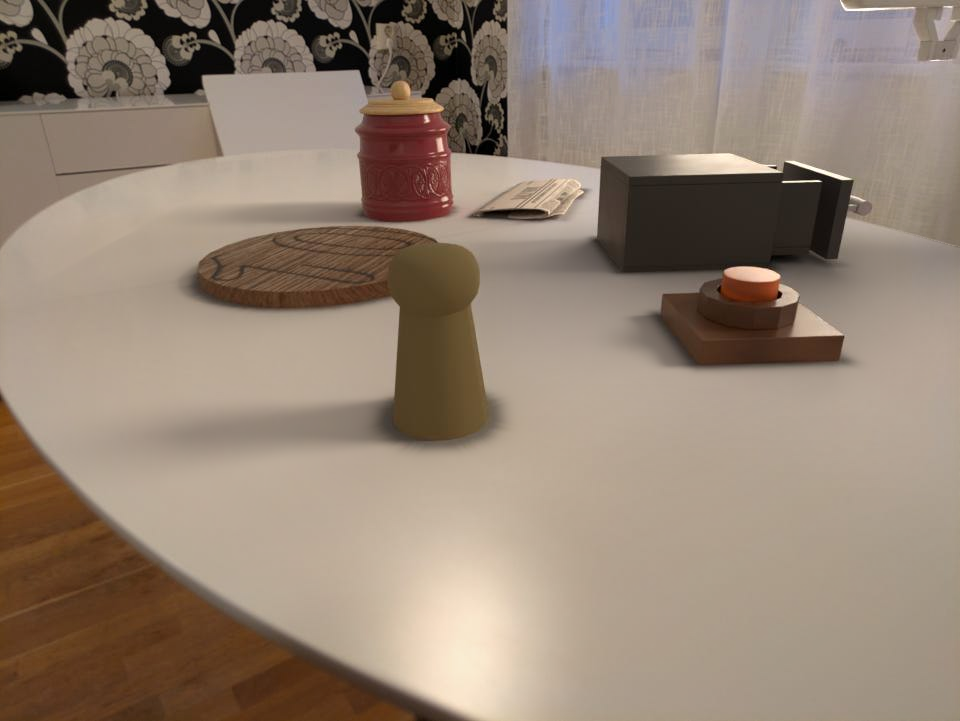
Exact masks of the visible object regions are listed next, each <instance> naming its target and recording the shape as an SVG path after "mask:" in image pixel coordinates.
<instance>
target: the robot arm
mask: <svg viewBox="0 0 960 721" xmlns="http://www.w3.org/2000/svg"><path fill="white" fill-rule="evenodd" d="M839 1H840V4H841V6H842V8H843V9H844V11H849V12H850V11H851V12H852V11H888V10H889V11H890V10H891V11H892V10H914V14H913V19H912V24H913V27H914V30H915V33H916V37H917V39H918V41H919V46H918V50H917V55H916V59H917V61H918V62H934V61H937V62H938V61H955V60H956V59H957V57H958V54H959V51H960V0H839ZM944 9H951V14H950V18H949V20H950V22H954V23H953V25H952V26H951V28H950V29H949V30H948V31H947V33H946V34H945V36H944V38H943V39H942V40H939V36H938V32H937V28H936V23H935V22H940V21H941V20H942V15H943V12H944Z"/></svg>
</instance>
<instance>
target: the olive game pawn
mask: <svg viewBox="0 0 960 721" xmlns="http://www.w3.org/2000/svg"><path fill="white" fill-rule="evenodd" d="M387 281H388V288H389V291H390V294H391V295H390V296H391V298H392V299H393V301H394V302H395V303H396V304H397V305H398V307H399V311H398V312H399V314H398V327H397V328H398V330H397V343H396V344H397V346H396V347H397V348H396V362H395V380H394V396H393V413H392V422H393V424H394V427H395V428H396V429H397V430H398V431H399V432H401V433H402V434H403V435H406V436H408V437H411V438H414V439H417V440H422V441H423V440H424V441H431V442H437V441H439V442H440V441H451V440H456V439H460V438H465V437H467V436H469V435H472V434H474V433H477V432H478V431H479V430H481V429H482V428H483V427H485V425H487V422H488V421H489V419H490V414H489V413H490V412H489V405H488V399H487V392H486V387H485V381H484V374H483V369H482V363H481V358H480V357H481V356H480V351H479V345H478V338H477V334H476V327H475V321H474V315H473V309H472V302H473V301H474V300H475V299H476V297H477V295H478V293H479V289H480V285H481V273H480V267H479V263H478V259H477V258H476V257H475V255H474V254H473V252H472V251H471V250H469V249H468V248H467V247H465V246H463V245H459V244H455V243H449V242H438V243H423V244H417V245H412V246H408V247H406V248H403V249H402V250H400V251H399V252H397V253H396V254H394V256H393V258H392V260H391V262H390V264H389V268H388V274H387Z"/></svg>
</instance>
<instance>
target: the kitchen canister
mask: <svg viewBox="0 0 960 721" xmlns="http://www.w3.org/2000/svg"><path fill="white" fill-rule="evenodd" d="M390 95H391V98H375V99H370V100H369V101H368V103H367V104H365V105H364V106H363V107H361V108H360V109H359V110H358V111H359V113H360V114H361V115H363V117H362V119H361V122H360V123H359V124H357V126H356V127H355V128H354V132H355V134H357V135H358V137H359V152H357V153H356V158H357V159H358V166H359V177H360V187H361V188H360V189H361V198H360V201H361V208H362V210H363V213H364V216H365V217H366V218H368V219H371V220H375V221H382V222H394V223H395V222H396V223H397V222H398V223H400V222H401V223H404V222H406V223H407V222H421V221H429V220H435V219H438V218H443V217H445V216H448V215H449V214H451V213H452V212H453V205H454V194H453V190H452V189H453V188H452V186H453V185H452V165H451V163H452V162H451V155H452V154H453V152H452V150H451V149H450V148H449V144H448V143H449V142H448V133H449V131H450V130H451V127H452V126H451V125H450V123H448V122H446V121H445V120H444V119H443V116H442V115H441V112H443V111H444V110H445V108H444V107H443V106H442V105H440V104H439V103H437V102H436V101H435V100H434V99H433V98H431V97H430V98H429V97H411V88H410V85H409V83H408V82H406V81H403V80H397V81H394V82H393V83H392V84H391V87H390Z"/></svg>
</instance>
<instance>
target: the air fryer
mask: <svg viewBox="0 0 960 721" xmlns="http://www.w3.org/2000/svg"><path fill="white" fill-rule="evenodd" d="M764 165H765V164H761V163H759V162H756V161H753V160H750V159H747V158H745V157H743V156H742V157H741V156H739V155H737V154H733V153H728V152H727V153H725V152H724V153H688V154H657V155H655V154H653V155H652V154H650V155H618V156H617V155H616V156H601V157H600V169H599V170H600V173H599V190H598V191H599V193H598V208H597V209H598V212H597V230H596V234H597V235H596V239H597V241H598V242H599V244H600V245H601V246H602V248H603V249H604V250H605V251H606V253H607V254H608V256H609V257H610V258H611V259H612V260H613V262H614V263H615V265H616V266H617V267H618V268H619V270H620V271H621V272H622V273H623V274H629V273H663V272H664V273H665V272H687V271H688V272H696V271H698V272H699V271H724V270H726V269H728V268H732V267H744V266H745V267H758V268H764V269H769V268H770V263H771V258H772V255H771V252H772V246H773V240H774V234H775V227H776V221H777V215H778V209H779V203H780V197H781V191H782V185H783V177H784V173H783V171H780V170H778V169H777V170H775V169H772V168H770V167H767V166H764Z"/></svg>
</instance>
